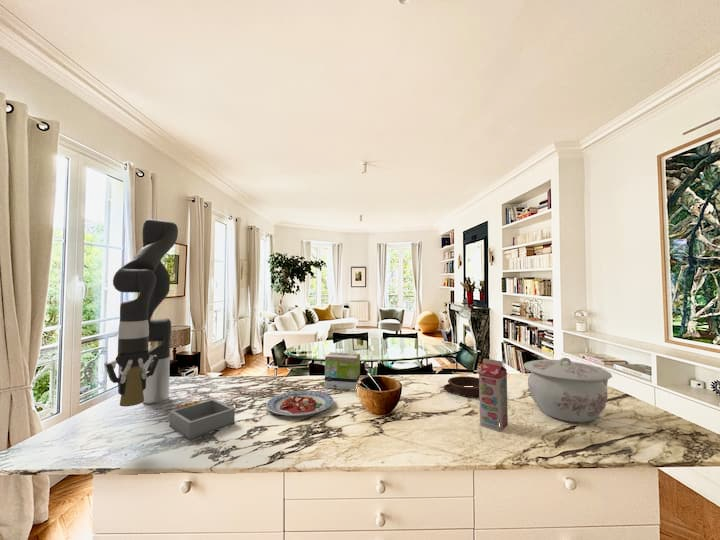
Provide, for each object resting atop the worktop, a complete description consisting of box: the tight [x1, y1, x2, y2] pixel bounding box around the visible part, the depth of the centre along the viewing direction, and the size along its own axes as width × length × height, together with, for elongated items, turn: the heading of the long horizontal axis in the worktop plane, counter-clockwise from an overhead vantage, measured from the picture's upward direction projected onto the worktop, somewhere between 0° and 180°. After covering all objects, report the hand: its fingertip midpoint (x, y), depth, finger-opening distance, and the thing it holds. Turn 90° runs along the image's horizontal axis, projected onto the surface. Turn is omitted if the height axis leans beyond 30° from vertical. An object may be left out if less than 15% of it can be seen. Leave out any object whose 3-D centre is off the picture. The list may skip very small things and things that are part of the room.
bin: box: [168, 398, 236, 440], centre depth 110 cm, size 15×15×5 cm
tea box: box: [324, 352, 361, 391], centre depth 152 cm, size 15×10×15 cm, turn 80°
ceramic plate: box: [265, 390, 334, 417], centre depth 127 cm, size 26×26×3 cm
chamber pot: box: [523, 357, 613, 423], centre depth 119 cm, size 28×28×21 cm
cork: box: [119, 366, 144, 407], centre depth 97 cm, size 6×6×11 cm
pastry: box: [173, 400, 199, 410], centre depth 120 cm, size 9×7×4 cm
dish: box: [443, 376, 479, 397], centre depth 143 cm, size 18×22×5 cm
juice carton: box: [478, 357, 509, 433], centre depth 110 cm, size 7×7×22 cm
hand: (132, 393), depth 97 cm, fingers closed on cork, 4 cm apart
